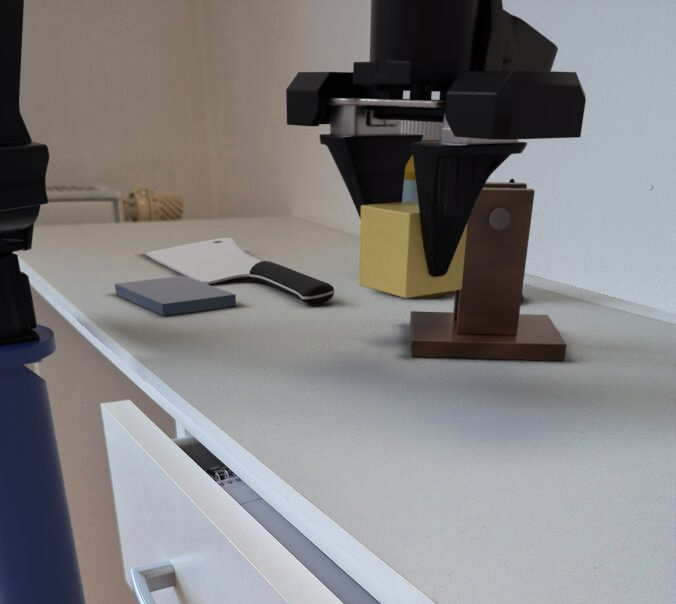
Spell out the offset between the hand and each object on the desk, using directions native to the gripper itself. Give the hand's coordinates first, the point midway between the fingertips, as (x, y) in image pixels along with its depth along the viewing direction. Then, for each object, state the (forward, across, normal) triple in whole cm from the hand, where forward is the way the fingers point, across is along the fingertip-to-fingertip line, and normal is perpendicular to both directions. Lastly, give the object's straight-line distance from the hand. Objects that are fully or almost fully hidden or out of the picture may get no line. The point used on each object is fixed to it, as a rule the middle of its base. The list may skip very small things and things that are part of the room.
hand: (411, 269), depth 50 cm
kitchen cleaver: (+7, +38, -9) cm, 39 cm away
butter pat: (+1, 0, 0) cm, 1 cm away
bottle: (+7, +22, -20) cm, 31 cm away
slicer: (+7, +5, -12) cm, 15 cm away
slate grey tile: (+7, +31, +1) cm, 32 cm away
